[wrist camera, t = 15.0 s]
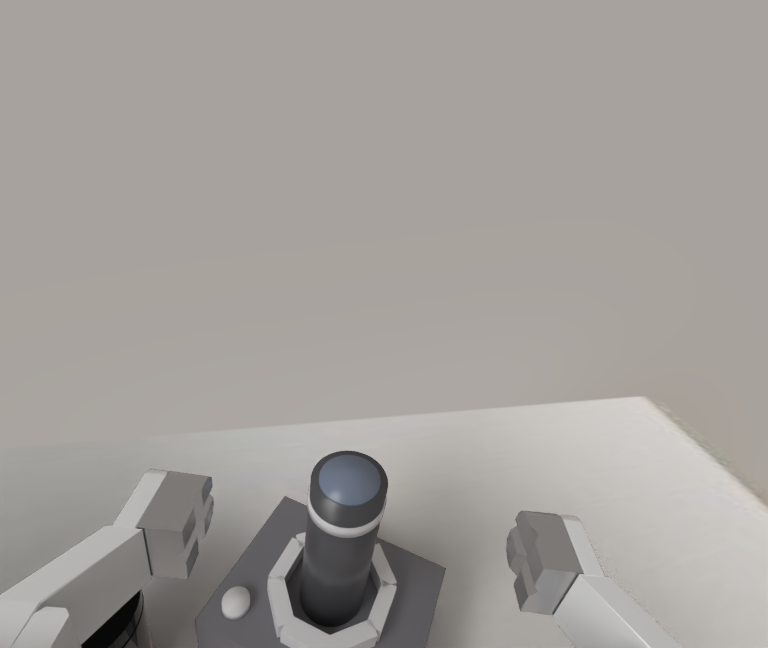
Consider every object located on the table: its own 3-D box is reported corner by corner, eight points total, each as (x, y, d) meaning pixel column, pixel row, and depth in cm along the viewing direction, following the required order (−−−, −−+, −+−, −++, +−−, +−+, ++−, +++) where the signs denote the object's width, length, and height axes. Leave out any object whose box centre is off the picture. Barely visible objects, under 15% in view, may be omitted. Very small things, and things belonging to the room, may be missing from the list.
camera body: (199, 660, 35) (193, 608, 31) (282, 535, 45) (285, 485, 41) (387, 769, 31) (406, 725, 27) (431, 605, 41) (449, 557, 37)
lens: (285, 609, 33) (293, 492, 27) (318, 551, 37) (332, 438, 31) (347, 641, 32) (371, 526, 25) (374, 577, 36) (400, 465, 30)
